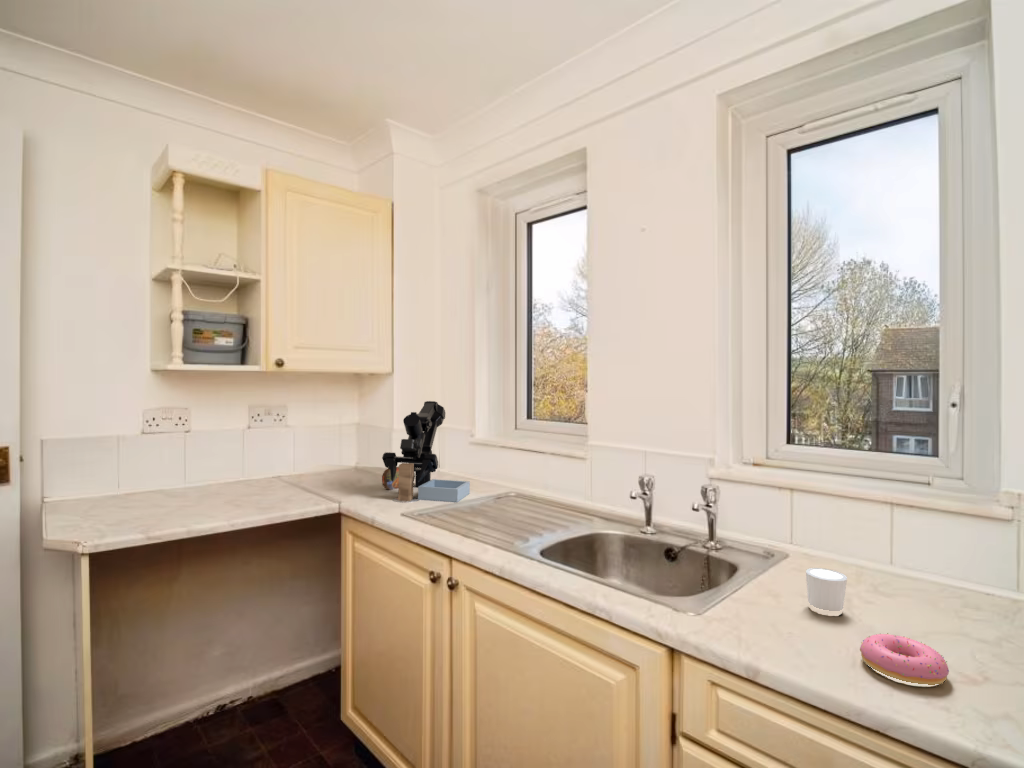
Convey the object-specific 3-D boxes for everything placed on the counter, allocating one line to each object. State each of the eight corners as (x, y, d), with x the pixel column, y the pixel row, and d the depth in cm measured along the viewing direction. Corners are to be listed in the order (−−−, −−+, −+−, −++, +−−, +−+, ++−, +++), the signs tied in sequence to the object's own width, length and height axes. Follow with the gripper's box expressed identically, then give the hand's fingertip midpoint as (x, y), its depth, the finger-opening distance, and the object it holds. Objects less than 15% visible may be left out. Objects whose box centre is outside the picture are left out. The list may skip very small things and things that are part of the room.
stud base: (399, 497, 192) (399, 488, 192) (423, 499, 190) (423, 490, 190) (387, 503, 183) (387, 493, 183) (413, 505, 181) (413, 495, 181)
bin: (432, 492, 200) (432, 479, 200) (469, 495, 197) (469, 481, 197) (418, 501, 187) (418, 486, 186) (457, 504, 184) (457, 489, 183)
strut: (401, 497, 189) (402, 463, 188) (413, 498, 188) (413, 463, 188) (398, 500, 185) (398, 465, 184) (409, 501, 184) (410, 465, 184)
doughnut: (846, 666, 84) (846, 639, 84) (877, 647, 90) (878, 622, 90) (931, 702, 75) (932, 672, 75) (960, 678, 81) (961, 650, 81)
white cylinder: (829, 620, 100) (830, 582, 99) (796, 606, 106) (797, 570, 106) (855, 614, 102) (855, 577, 102) (821, 600, 109) (821, 565, 108)
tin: (386, 492, 199) (386, 469, 199) (380, 491, 201) (380, 468, 201) (415, 485, 212) (415, 463, 212) (409, 485, 213) (409, 463, 214)
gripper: (384, 429, 191) (372, 465, 181) (436, 430, 190) (428, 467, 179) (391, 449, 199) (380, 485, 188) (441, 450, 198) (433, 487, 187)
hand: (405, 480), depth 185 cm, fingers open, 9 cm apart
